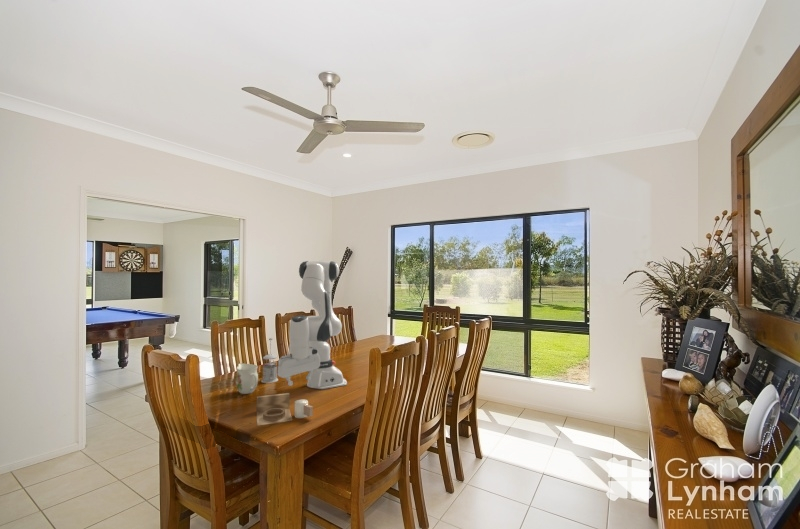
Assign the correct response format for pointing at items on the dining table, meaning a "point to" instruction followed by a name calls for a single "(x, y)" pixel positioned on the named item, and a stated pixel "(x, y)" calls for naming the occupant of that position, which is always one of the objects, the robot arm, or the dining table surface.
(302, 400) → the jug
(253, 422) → the dining table surface
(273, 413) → the stand
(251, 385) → the pitcher
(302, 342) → the robot arm
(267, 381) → the french press
